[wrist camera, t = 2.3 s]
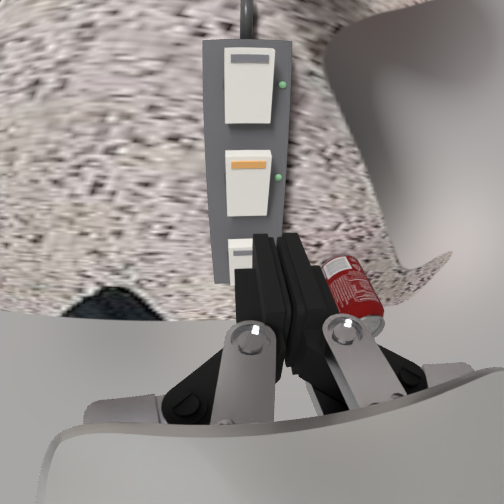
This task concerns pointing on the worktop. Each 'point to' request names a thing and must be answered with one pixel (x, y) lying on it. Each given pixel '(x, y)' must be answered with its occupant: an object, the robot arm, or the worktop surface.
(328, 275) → the soda can
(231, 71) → the rocker
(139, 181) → the worktop surface
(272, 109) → the power strip
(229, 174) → the block
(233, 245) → the rocker
